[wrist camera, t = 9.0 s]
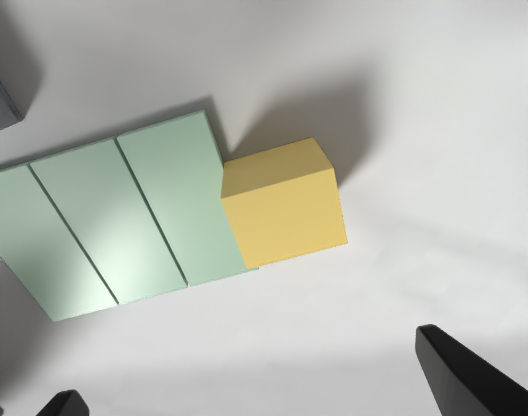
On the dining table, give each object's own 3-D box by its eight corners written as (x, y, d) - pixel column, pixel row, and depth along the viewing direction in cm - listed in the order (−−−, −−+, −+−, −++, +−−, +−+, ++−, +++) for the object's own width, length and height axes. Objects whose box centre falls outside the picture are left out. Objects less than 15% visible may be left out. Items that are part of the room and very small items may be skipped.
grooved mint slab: (335, 240, 22) (356, 289, 18) (59, 313, 23) (21, 373, 19) (301, 79, 17) (320, 96, 13) (-43, 182, 18) (-121, 226, 14)
